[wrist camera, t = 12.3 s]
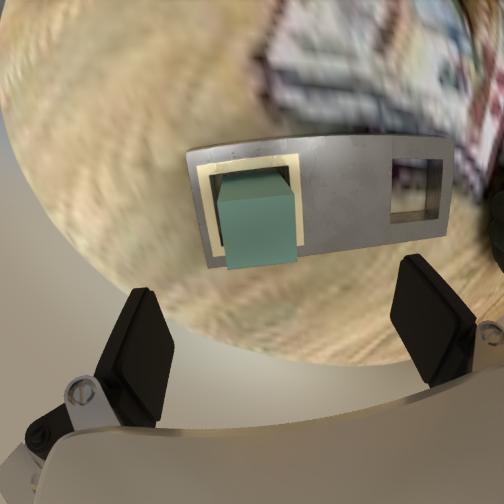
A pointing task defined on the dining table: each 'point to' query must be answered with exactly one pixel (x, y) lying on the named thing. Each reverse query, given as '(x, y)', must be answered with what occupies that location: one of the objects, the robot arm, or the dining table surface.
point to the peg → (257, 219)
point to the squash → (497, 227)
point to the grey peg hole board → (331, 187)
